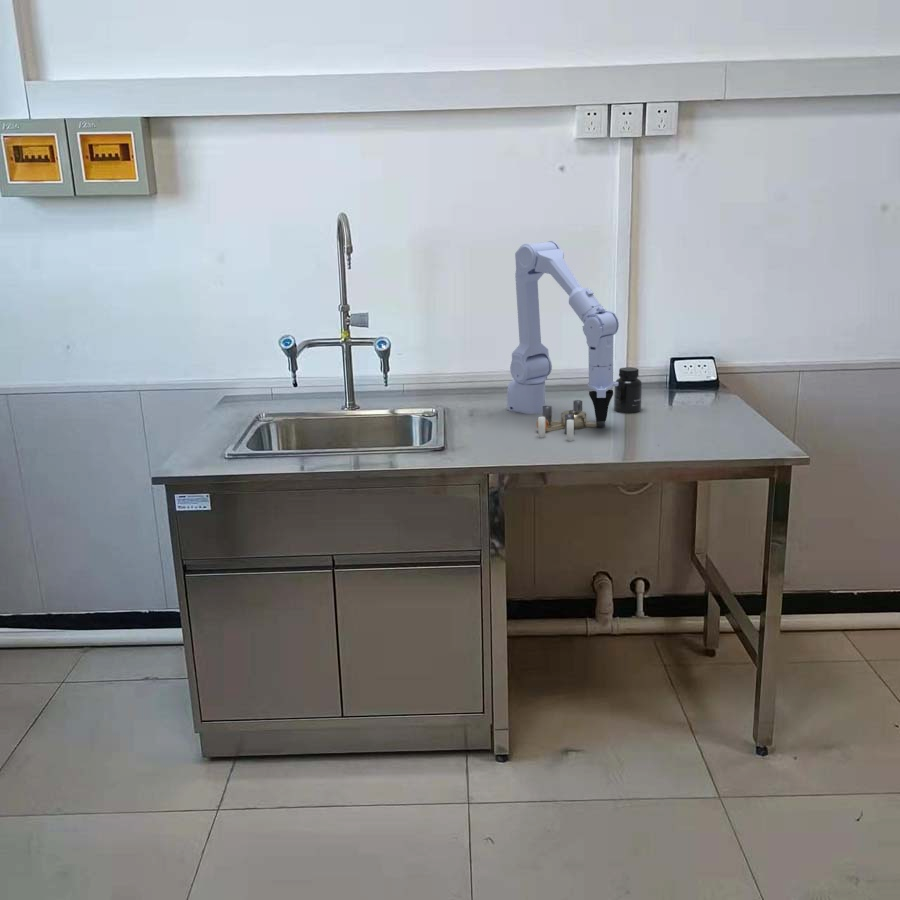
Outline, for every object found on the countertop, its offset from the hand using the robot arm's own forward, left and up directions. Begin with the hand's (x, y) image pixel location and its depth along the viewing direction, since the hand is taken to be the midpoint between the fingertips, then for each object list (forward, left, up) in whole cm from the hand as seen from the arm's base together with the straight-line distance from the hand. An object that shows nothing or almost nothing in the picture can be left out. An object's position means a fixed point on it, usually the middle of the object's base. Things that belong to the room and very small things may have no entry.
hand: (601, 420), depth 210 cm
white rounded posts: (-6, -10, -2) cm, 12 cm away
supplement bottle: (-1, +19, -4) cm, 19 cm away
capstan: (-7, 0, -2) cm, 7 cm away
